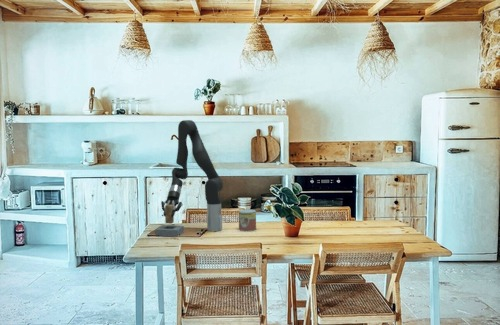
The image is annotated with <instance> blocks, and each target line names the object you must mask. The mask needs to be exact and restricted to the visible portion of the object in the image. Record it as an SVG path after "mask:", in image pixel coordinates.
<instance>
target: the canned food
mask: <svg viewBox="0 0 500 325" xmlns="http://www.w3.org/2000/svg"><path fill="white" fill-rule="evenodd" d="M238 230H239V231H241V232H254V231H256V230H257V210H255V209H250V208H249V209H240V210H238Z"/></svg>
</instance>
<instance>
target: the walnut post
mask: <svg viewBox="0 0 500 325" xmlns="http://www.w3.org/2000/svg"><path fill="white" fill-rule="evenodd" d="M164 208H165V216H164V219H165V220H164V222H165V224H171V225H172V224H173V223H174V216H175V215H174V216H173V217H172V216H171V214H172V210H173V205H166V204H165V205H164Z"/></svg>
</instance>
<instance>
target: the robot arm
mask: <svg viewBox="0 0 500 325" xmlns="http://www.w3.org/2000/svg"><path fill="white" fill-rule="evenodd" d="M199 132H200V131H199V129H198V127H197V124H196V122H195V121H193V120H191V119H190V120H188V119H186V120H184V119H183V120H181V121H179V123H178V127H177V140H178V141H177V154H176V165H178V166H181V167H182V168H180V167H174V168H172V170H171V178H172V180H171V185H170V187H169V189H168V193H167V198H166V200H165V201H161V202H160V203H161V204H160V205H161V209H162V211H163V216H164V217H165V206H166V205H173V210H172V214H171V216H172V217H173V216H175V214H176V212H179V211H180V209H181V207H182V206H183V202H182V201H180V199H181V198H180V197H181V194H182V188H183V183H184V182H183V180H186V179H187V178H188V176H189V173H188V158H189V149H188V146H187V145H188V144H187V139H188V137H189V139H190V141H191V153H192V156H193V158H194V161H195V163H196V165H197V166H198V167H199V168H200V169H201V170H202V171H203V172H204V173H205V175H206V177H207V181H206V182H205V184H204V192H205V193H204V194H205V196H204V197H205V200H206V224H207V226H206V228H207V231H209V232H220V231H222V229H223V213H222V199H221V198H220V197H219V192H221V191H222V190H223V188H224V184H223V181H222V179H221V177H220V176H219V174H218V173H217V170H216V168H215V166H214V164H213V163H212V160H211V158H210V155H209V153H208V151H207V149H206V146H205V145H204V142H203V140H202V138H201V135H200V133H199Z"/></svg>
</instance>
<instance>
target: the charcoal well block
mask: <svg viewBox="0 0 500 325" xmlns="http://www.w3.org/2000/svg"><path fill="white" fill-rule="evenodd" d="M183 231H184V232H185V225H172V224H171V225H169V224H167V225H165V224H163V225H161V226H158V227H157V228H155V236H156V237H174V236H178V235H179V234H181V233H182V232H183ZM184 232H183V233H184ZM183 233H182V234H183ZM182 234H181V235H182ZM158 235H159V236H158ZM162 235H164V236H162ZM165 235H166V236H165ZM167 235H169V236H167ZM179 236H180V235H179ZM179 236H178V237H179Z"/></svg>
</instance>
